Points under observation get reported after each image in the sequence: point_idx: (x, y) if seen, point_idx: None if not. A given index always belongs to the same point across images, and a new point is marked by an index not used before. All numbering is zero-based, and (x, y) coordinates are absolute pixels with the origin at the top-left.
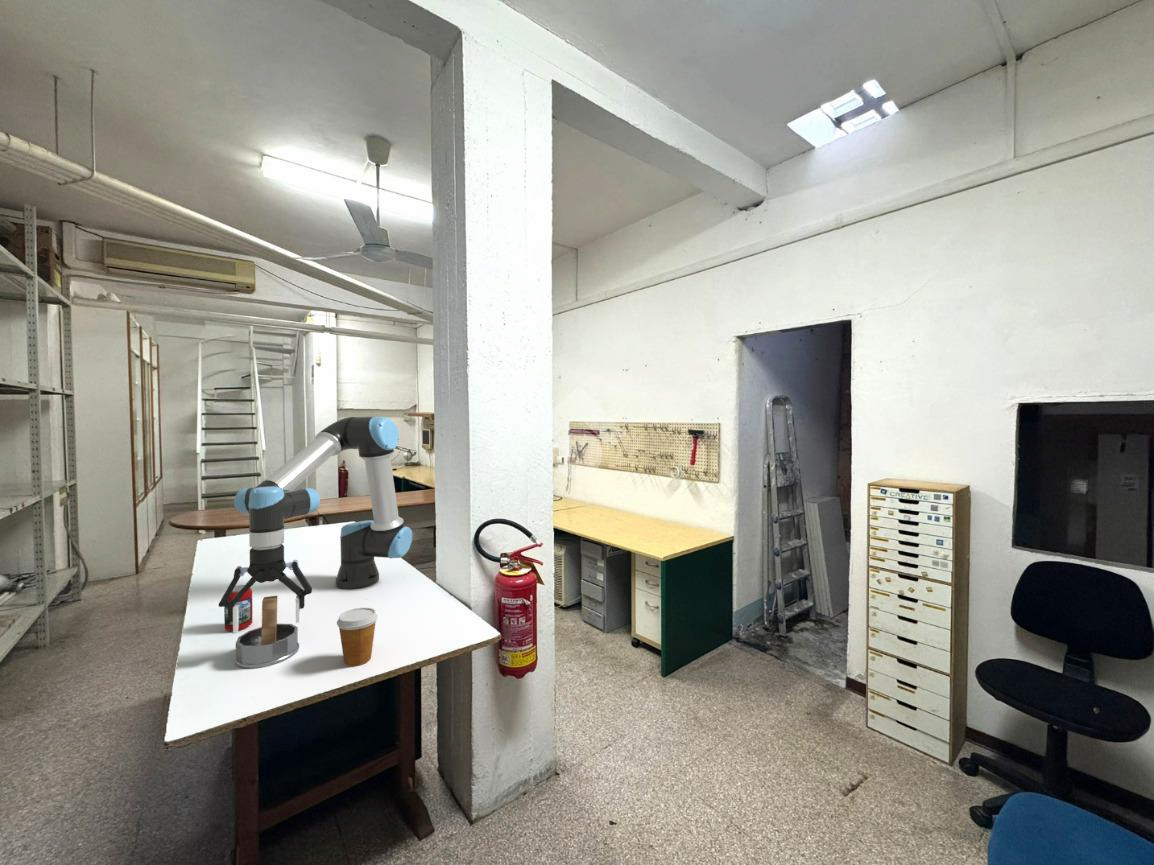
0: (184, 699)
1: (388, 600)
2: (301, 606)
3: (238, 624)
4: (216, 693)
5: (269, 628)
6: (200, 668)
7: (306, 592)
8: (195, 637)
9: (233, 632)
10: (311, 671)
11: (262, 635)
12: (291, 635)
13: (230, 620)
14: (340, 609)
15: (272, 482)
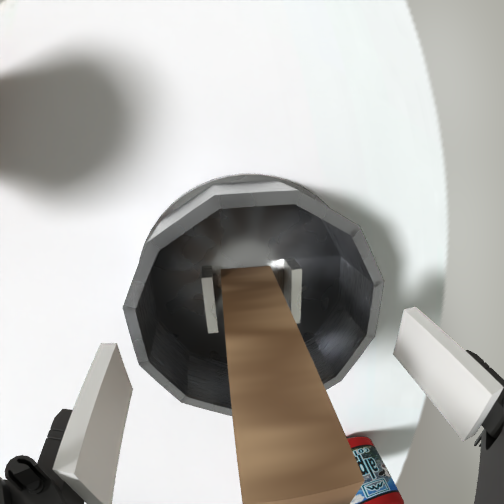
0: (424, 71)
1: None
2: (67, 421)
3: (407, 362)
4: (357, 50)
5: (256, 328)
6: (423, 257)
7: (2, 489)
8: (415, 416)
9: (417, 309)
10: (67, 75)
11: (284, 306)
12: (135, 274)
13: (371, 455)
14: (116, 473)
15: None
